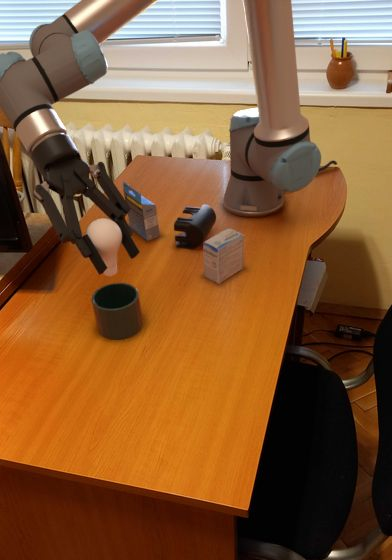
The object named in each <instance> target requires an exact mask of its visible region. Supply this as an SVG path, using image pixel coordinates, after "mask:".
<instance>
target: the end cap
mask: <svg viewBox="0 0 392 560" xmlns="http://www.w3.org/2000/svg"><path fill="white" fill-rule="evenodd" d="M182 214H187V215H191V216H190V217H189V216H188V217H181V216H179V217H177V218H176V220H175V221H174V223H173V231H174V232H182V234H180V233H179V234H174V241H175V242H176V244H175V246H176V248H179V249H185V250H196V249H197V248H199V247H200V246H201V245H203V243H204V242H205V241H206V238H207V236H208V235H209V233H210V232H211V230H212V229H213V227H214V225H215V224H216V222H217V214H216V212H215V210H214V209H213V208H212V207H211V206H210V205H208V204H205V203H203V204H202V205H201V207H196V206H185V207H184V209H183V210H182Z"/></svg>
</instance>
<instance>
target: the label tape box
mask: <svg viewBox="0 0 392 560" xmlns="http://www.w3.org/2000/svg"><path fill="white" fill-rule="evenodd" d="M122 183H123V184H122V186H123V187H122V189H123V195H124V199H125V201H126V202H127V204H128V205H129V207H130V211H129V212H128V214H127V218H128V225H129V227H130V228H131V230H132V231H134V232H135V233H136V234H137V235H139V236H140V237H142V239H144V240H146V241H147V242H150V241H153V240H155V239H157V238H159V237H161V233H160V232H161V231H160V225H159V217H158V211H157V205H156V204H155V203H153V202H152V201H150V200H149V199H147V198H146V197H145V196H143V195H142V193H141V192H139V191H138V190H136V189H135V188H134V187H133V186H131V185H130V184H128V183H127V182H126V181H124V180H122Z"/></svg>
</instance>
